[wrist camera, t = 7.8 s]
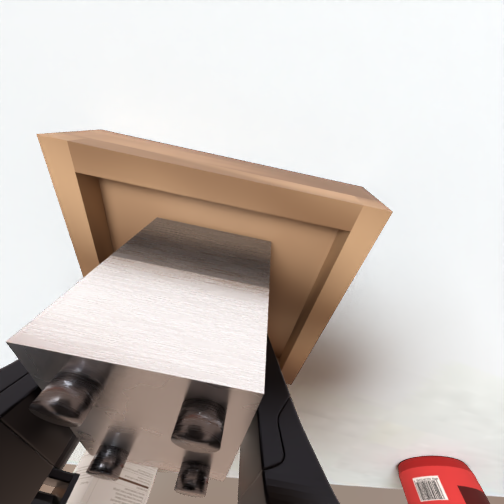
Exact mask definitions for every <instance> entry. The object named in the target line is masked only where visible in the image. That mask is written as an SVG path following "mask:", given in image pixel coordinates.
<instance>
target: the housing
mask: <svg viewBox="0 0 504 504" xmlns="http://www.w3.org/2000/svg"><path fill="white" fill-rule="evenodd" d="M270 259H271V241H266V240H262V239H257V238H252V237H248V236H243V235H238V234H233V233H229V232H224V231H219V230H215V229H210V228H205V227H201V226H196V225H191V224H186V223H182V222H177V221H172V220H168V219H163V218H158V217H157V218H155V219H154V220H153V221H152V222H151V223H149V224H148V225H147V226H146V227H144V228H143V229H142V230H141V231H140V232H138V233H137V234H136V235H135V236H134V237H132V238H131V239H130V240H129V241H127V242H126V243H125V244H124V245H123V246H121V247H120V248H119V249H118V250H117V251H115V252H114V253H113V254H112V255H110V256H109V257H108V258H107V259H106V260H104V261H103V262H102V263H101V264H100V265H98V266H97V267H96V268H95V269H93V270H92V271H91V272H90V273H89V274H87V275H86V276H85V277H84V278H83V279H81V280H80V281H79V282H78V283H76V284H75V285H74V286H73V287H72V288H70V289H69V290H68V291H67V292H66V293H64V294H63V295H62V296H61V297H59V298H58V299H57V300H56V301H55V302H53V303H52V304H51V305H50V306H49V307H47V308H46V309H45V310H44V311H42V312H41V313H40V314H39V315H38V316H36V317H35V318H34V319H33V320H32V321H30V322H29V323H28V324H27V325H25V326H24V327H23V328H22V329H21V330H19V331H18V332H17V333H16V334H15V335H13V336H12V337H11V338H10V339H8V340H7V341H6V343H7V344H8V345H9V347H10V348H11V349H12V351H13V352H14V353H15V355H16V356H17V357H18V359H19V360H20V361H21V363H22V364H23V365H24V367H25V368H26V369H27V371H28V372H29V373H30V375H31V376H32V378H33V379H34V380H35V382H36V383H37V384H38V386H39V387H40V388H41V390H42V392H41V393H40V394H39V395H38V396H37V398H36V399H35V400H34V401H33V402H32V403H31V405H30V406H29V410H30V411H31V412H32V413H33V414H34V415H36V416H37V417H39V418H41V419H43V420H46V421H48V422H51V423H54V424H57V425H61V426H67V427H70V429H71V430H72V431H73V433H74V434H75V435H76V437H77V438H78V439H79V441H80V442H81V443H82V445H83V446H84V447H85V449H86V450H87V451H88V453H89V454H90V455H92V456H94V457H93V459H92V461H91V463H90V465H89V467H88V469H87V470H86V473H87V474H89V475H91V476H94V477H97V478H100V479H105V480H111V481H116V480H118V478H119V476H120V474H121V472H122V469H123V467H124V465H125V463H126V462H128V463H133V464H138V465H143V466H149V467H154V468H159V469H164V470H169V471H174V472H179V474H178V478H177V482H176V485H175V489H174V490H175V491H176V492H178V493H180V494H183V495H188V496H193V497H205V495H206V490H207V484H208V479H209V478H210V479H216V480H220V481H224V480H225V478H226V475H227V473H228V471H229V469H230V467H231V465H232V462H233V460H234V458H235V456H236V454H237V452H238V449H239V447H240V445H241V443H242V441H243V439H244V436H245V434H246V432H247V430H248V428H249V426H250V423H251V421H252V419H253V417H254V415H255V413H256V410H257V408H258V406H259V404H260V402H261V400H262V397H263V395H264V386H265V365H266V344H267V323H268V302H269V281H270Z"/></svg>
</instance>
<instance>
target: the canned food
mask: <svg viewBox="0 0 504 504" xmlns="http://www.w3.org/2000/svg"><path fill="white" fill-rule="evenodd" d="M398 470H399V478H400V481H401V484H402V487H403V490H404V492H405V496H406V498H407V501H408V504H490V503H489V501H488V499H487V497H486V495H485V494H484V492H483V490H482V488H481V486H480V484H479V483H478V481H477V479H476V477H475V475H474V474H473V473H472V471H471V470H470V469H469V468H468V466H467V465H466V464H465V463H463V462H462V461H460V460H457V459H454V458H450V457H443V456H421V457H414V458H410V459H407V460H404V461H402V462H401V463H400V464H399V466H398Z"/></svg>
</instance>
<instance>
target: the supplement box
mask: <svg viewBox="0 0 504 504" xmlns="http://www.w3.org/2000/svg"><path fill="white" fill-rule="evenodd" d="M93 457H94V456H92V455H90V454H89V453H88V451H87V450H86V451H85V452H84V454H83V456H82V458H81V459H80V461H79V463H78V465H77V466H76V468H75V470H74V472H75V473H78V474H80V476H79V478H78V480H77V482H76V484H75V487H74V489H73V491H72V493H71V495H70V497H69V499H68V501H67V503H66V504H146V503H147V500H148V497H149V495H150V492H151V489H152V486H153V483H154V480H155V477H156V474H157V471H158V468H154V467H149V466H143V465H138V464H133V463H128V462H126V463H125V465H124V467H123V469H122V472H121V474H120V476H119V478H118V480H116V481H111V480H105V479H100V478H97V477H94V476H91V475H89V474H87V473H86V470H87V469H88V467H89V465H90V463H91V461H92V459H93ZM74 472H73V473H74Z"/></svg>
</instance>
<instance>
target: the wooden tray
mask: <svg viewBox="0 0 504 504" xmlns="http://www.w3.org/2000/svg"><path fill="white" fill-rule="evenodd" d="M37 137H38V140H39V143H40V146H41V149H42V152H43V155H44V158H45V161H46V164H47V167H48V170H49V173H50V177H51V180H52V183H53V186H54V189H55V192H56V195H57V198H58V201H59V204H60V207H61V210H62V213H63V216H64V219H65V222H66V225H67V228H68V231H69V235H70V238H71V241H72V244H73V247H74V250H75V253H76V256H77V259H78V262H79V265H80V268H81V271H82V274H83V277H85V276H86V275H87V274H89V273H90V272H91V271H92V270H93V269H95V268H96V267H97V266H98V265H100V264H101V263H102V262H103V261H104V260H106V259H107V258H108V257H109V256H110V255H112V254H113V253H114V252H115V251H117V250H118V249H119V248H120V247H121V246H123V245H124V244H125V243H126V242H127V241H129V240H130V239H131V238H132V237H134V236H135V235H136V234H137V233H138V232H140V231H141V230H142V229H143V228H144V227H146V226H147V225H148V224H149V223H151V222H152V221H153V220H154V219H155V218H157V217H158V218H163V219H168V220H172V221H177V222H182V223H186V224H191V225H196V226H201V227H205V228H210V229H215V230H219V231H224V232H229V233H233V234H238V235H243V236H248V237H252V238H257V239H262V240H266V241H271V259H270V281H269V302H268V323H267V333H268V336H269V339H270V342H271V344H272V347H273V350H274V353H275V355H276V358H277V361H278V363H279V366H280V369H281V372H282V374H283V377H284V380H285V383H286V384H290V385H291V384H292V383H293V381H294V379H295V377H296V376H297V374H298V372H299V371H300V369H301V367H302V365H303V364H304V362H305V360H306V359H307V357H308V355H309V354H310V352H311V350H312V348H313V347H314V345H315V343H316V342H317V340H318V338H319V337H320V335H321V333H322V331H323V330H324V328H325V326H326V325H327V323H328V321H329V320H330V318H331V316H332V314H333V313H334V311H335V309H336V308H337V306H338V304H339V303H340V301H341V299H342V297H343V296H344V294H345V292H346V291H347V289H348V287H349V285H350V284H351V282H352V280H353V279H354V277H355V275H356V274H357V272H358V270H359V268H360V267H361V265H362V263H363V262H364V260H365V258H366V257H367V255H368V253H369V251H370V250H371V248H372V246H373V245H374V243H375V241H376V240H377V238H378V236H379V234H380V233H381V231H382V229H383V228H384V226H385V224H386V222H387V221H388V219H389V217H390V216H391V214H392V211H391V210H390V209H389V208H388V207H386V206H385V205H384V204H383V203H381V202H380V201H379V200H378V199H377V198H375V197H374V196H373V195H372V194H371V193H369V192H368V191H367V190H366V189H364V188H363V187H360V186H356V185H351V184H347V183H342V182H338V181H333V180H328V179H324V178H319V177H315V176H310V175H306V174H301V173H296V172H292V171H287V170H283V169H278V168H274V167H269V166H265V165H260V164H255V163H251V162H246V161H242V160H237V159H233V158H228V157H224V156H219V155H214V154H210V153H205V152H201V151H196V150H192V149H187V148H183V147H178V146H173V145H169V144H164V143H160V142H155V141H151V140H146V139H142V138H137V137H132V136H128V135H123V134H119V133H114V132H110V131H105V130H88V131H74V132H59V133H45V134H37Z"/></svg>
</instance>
